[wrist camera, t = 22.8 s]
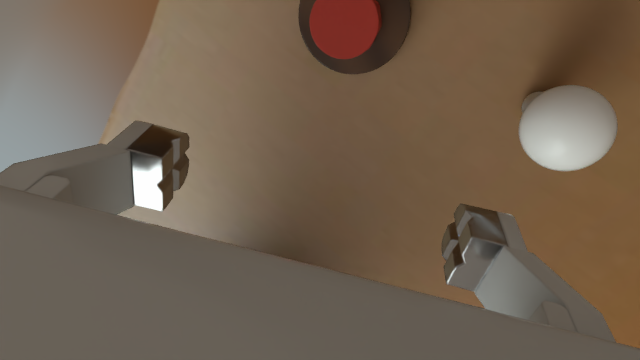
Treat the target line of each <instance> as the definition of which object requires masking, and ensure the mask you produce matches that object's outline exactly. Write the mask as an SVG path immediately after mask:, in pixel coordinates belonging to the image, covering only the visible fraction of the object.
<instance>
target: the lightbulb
mask: <svg viewBox="0 0 640 360" xmlns="http://www.w3.org/2000/svg"><path fill="white" fill-rule="evenodd" d="M522 113H523V114H522V116H521V119H520V123H519V139H520V142H521V145H522V147H523V149H524V151H525V152H526V154H527V155H528V156H529V157H530V158H531V159H532V160H533V161H535V162H536V163H537V164H539V165H541V166H543V167H545V168H548V169H552V170H556V171H574V170H579V169H582V168H585V167H588V166H590V165H592V164H594V163H595V162H597V161H598V160H600V159H601V158H602V157H603V156H604V155H605V154H606V153H607V152H608V151H609V150H610V148H611V147H612V145H613V143H614V141H615V138H616V135H617V128H618V123H617V117H616V113H615V111H614V109H613V107H612V105H611V104H610V102H609V101H608V100H607V99H606V98H605V97H604V96H603V95H601V94H600V93H599V92H597V91H595V90H593V89H590V88H588V87H584V86H579V85H563V86H558V87H554V88H551V89H549V90H547V91H545V92H534V93H532V94H530V95H529V96H527V97H526V98H525V100H524V101H523V104H522Z"/></svg>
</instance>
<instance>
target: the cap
mask: <svg viewBox="0 0 640 360" xmlns="http://www.w3.org/2000/svg"><path fill="white" fill-rule="evenodd" d="M381 26H382V20H381V11H380V5H379V3H378V2H377V1H376V0H316V2H315V3H314V5H313V8H312V10H311V14H310V31H311V35H312V38H313V40H314V42H315V43H316V45H317V46H318V47H319V48H320V49H321V50H322V51H323V52H324V53H325V54H327V55H329V56H331V57H334V58H337V59H351V58H354V57H357V56H359V55H361V54H362V53H364V52H365V51H366V50H368V49H369V48H370V47H371V45H372V44H373V42H374V40H375V38H376V36H377V34H378V32H379V30H380V28H381Z"/></svg>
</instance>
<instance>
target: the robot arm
mask: <svg viewBox="0 0 640 360" xmlns="http://www.w3.org/2000/svg"><path fill="white" fill-rule="evenodd" d="M188 148H189V136H188V134H187V133H184V132H180V131H176V130H173V129H169V128H165V127H162V126H158V125H154V124H151V123H147V122H143V121H134V122H133V123H132V124H131V125H129V126H128V127H127V128H126V129H125V130H124V131H122V132H121V133H120V134H119V135H118V136H116V137H115V138H114V139H113V140H112V141H110V142H109V143H108V144H107V145H105V144H97V145H93V146H89V147H84V148H80V149H75V150H72V151H67V152H62V153H58V154H54V155H49V156H45V157H40V158H36V159H32V160H27V161H23V162H18V163H14V164H12V165H11V166H9V167H8V168H7V169H5V170H4V171H2V172H1V173H0V360H640V348H636V347H632V346H628V345H624V344H620V343H616V341H615V339H614V337H613V335H612V333H611V331H610V329H609V327H608V325H607V323H606V321H605V319H604V317H603V315H602V314H601V313H600V312H599V311H598V310H597V309H596V308H595V307H593V306H592V305H591V304H590V303H589V302H588V301H587V300H586V299H584V298H583V297H582V296H581V295H580V294H579V293H578V292H576V291H575V290H574V289H573V288H572V287H571V286H570V285H569V284H567V283H566V282H565V281H564V280H563V279H562V278H561V277H559V276H558V275H557V274H556V273H555V272H554V271H553V270H552V269H550V268H549V267H548V266H547V265H546V264H545V263H544V262H542V261H541V260H540V259H539V258H538V257H537V256H536V255H535V254H533V253H530V252H528V251H527V248H526V246H525V243H524V241H523V238H522V235H521V233H520V230H519V228H518V225H517V222H516V220H515V217H514V216H513V215H511V214H507V213H502V212H497V211H492V210H488V209H483V208H479V207H475V206H470V205H466V204H461V203H460V204H459V206H458V207H457V208H456V210H455V212H454V219H455V222H453V223H451V224H450V225H448V226H447V229H446V231H445V233H444V236H443V240H442V248H441V250H442V256H443V257H444V258H445V260H446V263H445V265H444V273H445V280H446V284H449V285H452V286H456V287H459V288H463V289H466V290H470V291H473V292H475V294H476V296H477V297H478V299H479V300H480V301H481V303H482V304H483V306H484V307H485V309H484V308H480V307H476V306H472V305H468V304H464V303H460V302H456V301H452V300H448V299H444V298H440V297H436V296H433V295H429V294H425V293H421V292H417V291H413V290H409V289H405V288H401V287H397V286H393V285H389V284H385V283H382V282H378V281H374V280H370V279H366V278H362V277H358V276H354V275H350V274H346V273H342V272H338V271H334V270H331V269H327V268H323V267H319V266H315V265H311V264H307V263H303V262H299V261H295V260H291V259H287V258H284V257H280V256H276V255H272V254H268V253H264V252H260V251H256V250H252V249H248V248H244V247H240V246H237V245H233V244H229V243H225V242H221V241H217V240H213V239H209V238H205V237H201V236H197V235H193V234H189V233H186V232H182V231H178V230H174V229H170V228H166V227H162V226H158V225H154V224H150V223H146V222H142V221H139V220H135V219H131V218H127V217H123V216H119V215H117V214H119V213H121V212H123V211H125V210H127V209H129V208H131V207H133V206H134V205H136V206H141V207H145V208H149V209H154V210H158V211H164V209H165V208H166V207H167V205H168V204H169V203H170V201H171V200H172V199H173V191H176V190H178V189H180V188H181V186H182V185H183V184H184V181H185V179H186V176H187V173H188V168H189V159H188V157H187V156H186V154H185V152H186V151H187V149H188Z"/></svg>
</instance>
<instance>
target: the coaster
mask: <svg viewBox="0 0 640 360" xmlns="http://www.w3.org/2000/svg"><path fill="white" fill-rule="evenodd" d="M376 1H377V2H378V3H379V5H380V11H381V20H382V26H381V28H380V30H379V32H378V34H377V36H376V38H375V40H374V42H373V44H372V45H371V47H370V48H369V49H368V50H366V51H365V52H364V53H362V54H361V55H359V56H357V57H354V58H351V59H337V58H334V57H331V56H329V55H327V54H325V53H324V52H323V51H322V50H321V49H320V48H319V47H318V46H317V45H316V43H315V42H314V40H313V38H312V35H311V31H310V14H311V10H312V8H313V5H314V3H315V2H316V0H300V5H299V26H300V31H301V34H302V38H303V40H304V42H305V44H306V46H307V48H308V49H309V51H310V52H311V54H312V55H313V56H314V57H315V58H316V59H317V60H318V61H319V62H320V63H322V64H323V65H324V66H326V67H328V68H329V69H331V70H334V71H336V72H340V73H344V74H361V73H366V72H370V71H373V70H375V69H377V68H379V67H381V66H382V65H384V64H385V63H386V62H388V61H389V60H390V59H391V58H392V57H393V56H394V55H395V54H396V53H397V51H398V50H399V49H400V47H401V45H402V44H403V42H404V40H405V37H406V35H407V32H408V28H409V23H410V2H409V0H376Z"/></svg>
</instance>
